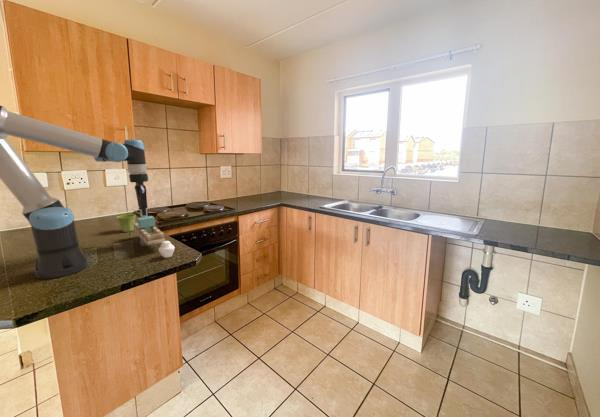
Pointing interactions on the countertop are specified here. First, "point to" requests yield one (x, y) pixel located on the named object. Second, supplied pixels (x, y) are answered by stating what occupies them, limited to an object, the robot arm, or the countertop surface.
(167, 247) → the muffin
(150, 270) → the countertop surface
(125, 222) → the plant pot
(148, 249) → the countertop surface
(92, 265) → the countertop surface
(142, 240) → the beam
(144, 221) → the rider
